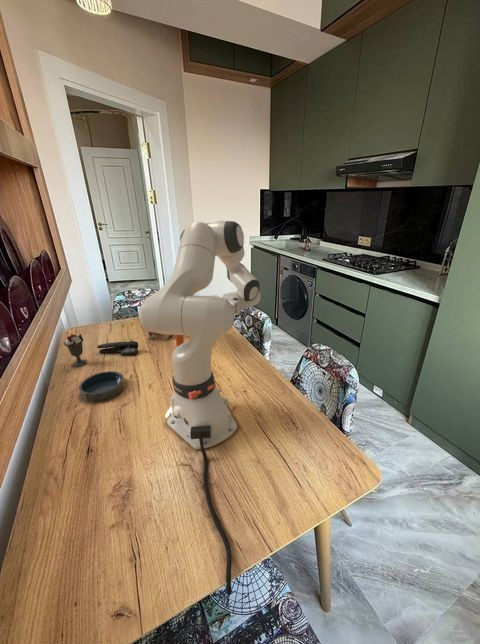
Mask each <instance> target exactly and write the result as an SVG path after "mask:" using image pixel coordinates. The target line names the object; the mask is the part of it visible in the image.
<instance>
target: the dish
mask: <svg viewBox="0 0 480 644" xmlns="http://www.w3.org/2000/svg"><path fill="white" fill-rule="evenodd" d="M125 385H126V382H125V377H124V375H123V374H122V373H121V372H119V371H116V370H115V371H112V370H107V371H101V372H98V373H94V374H92V375H90V376H88V377H86V378H85V379H83V380H82V381H81V382H80V384H79V386H78V390H79V393H80V397H81V399H82V400H83V401H85V402H88V403H89V402H90V403H98V402H103V401H107V400H110V399H112V398H114V397H116V396H117V395H119V394H120V393H121V392H122V391H123V390H124V389H125Z"/></svg>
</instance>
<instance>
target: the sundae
mask: <svg viewBox="0 0 480 644" xmlns="http://www.w3.org/2000/svg"><path fill="white" fill-rule="evenodd" d="M65 334H66V335H67V337H66V339H65V341H64V342H63V345H64V346H65V347H67V349H68V351H69V353H70V355H71V356H73V357H74V358H76V361H74V362H73V364H72V367H75V368H78V367H82V366H84V365H86V364H87V362H88V361H87V360H85V359H81V355H82V354H83V351H84V350H83V349H84V348H83V343H84V338H83V335H82V334H81V333H79V335H77V334H73V333H72V334H71V333H69V332H68V331H66V332H65Z"/></svg>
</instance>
